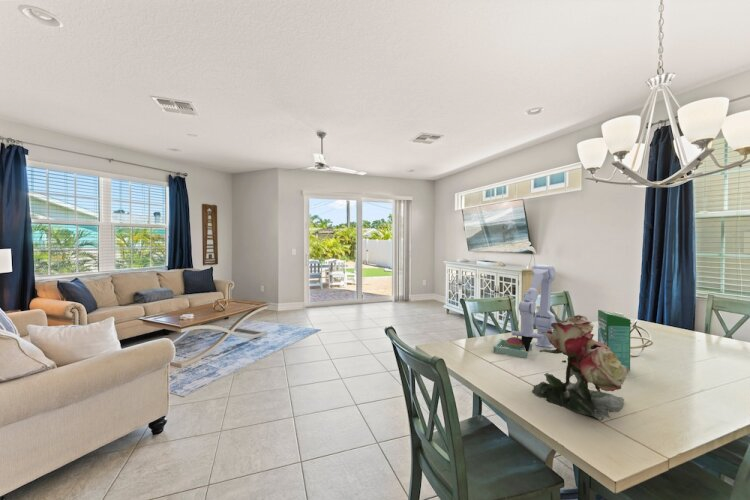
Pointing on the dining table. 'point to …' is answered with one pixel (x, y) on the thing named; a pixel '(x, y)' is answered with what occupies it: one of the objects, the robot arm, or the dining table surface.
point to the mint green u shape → (510, 351)
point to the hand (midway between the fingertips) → (527, 351)
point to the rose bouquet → (583, 370)
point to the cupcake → (515, 343)
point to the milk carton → (615, 334)
